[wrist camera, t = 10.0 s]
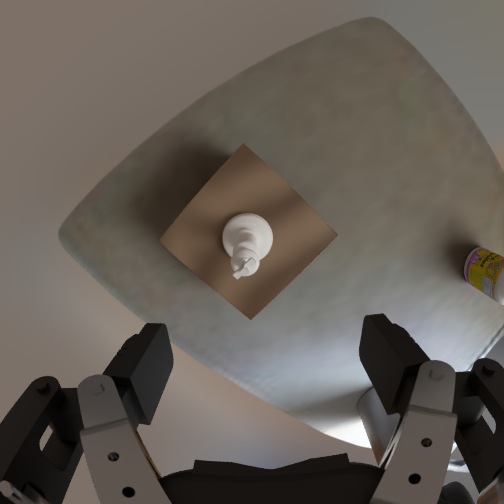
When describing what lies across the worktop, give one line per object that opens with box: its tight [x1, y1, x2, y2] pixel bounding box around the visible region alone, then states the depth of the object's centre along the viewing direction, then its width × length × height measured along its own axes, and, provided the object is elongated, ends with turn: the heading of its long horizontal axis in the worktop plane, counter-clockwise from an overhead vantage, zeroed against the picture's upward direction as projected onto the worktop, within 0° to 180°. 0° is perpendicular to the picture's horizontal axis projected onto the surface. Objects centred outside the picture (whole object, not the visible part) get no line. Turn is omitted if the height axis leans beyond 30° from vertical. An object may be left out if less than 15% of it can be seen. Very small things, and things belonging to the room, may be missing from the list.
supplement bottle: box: [464, 247, 504, 305], centre depth 29 cm, size 7×7×13 cm
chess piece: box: [223, 213, 273, 279], centre depth 22 cm, size 5×5×10 cm
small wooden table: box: [159, 143, 338, 320], centre depth 30 cm, size 13×13×7 cm
